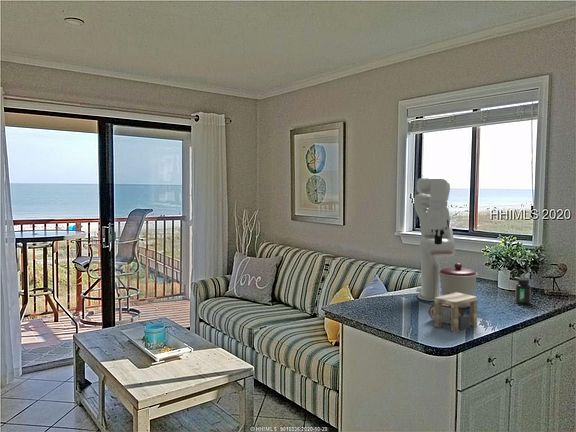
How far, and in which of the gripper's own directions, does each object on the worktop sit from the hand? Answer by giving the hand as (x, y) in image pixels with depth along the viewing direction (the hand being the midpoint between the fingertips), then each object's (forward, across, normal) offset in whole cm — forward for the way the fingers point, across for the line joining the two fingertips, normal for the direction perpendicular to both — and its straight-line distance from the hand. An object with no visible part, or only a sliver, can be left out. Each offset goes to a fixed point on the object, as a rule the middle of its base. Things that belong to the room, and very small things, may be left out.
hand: (438, 244), depth 209 cm
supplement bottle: (+32, +16, +46) cm, 58 cm away
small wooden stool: (+32, +18, -12) cm, 39 cm away
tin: (+32, +13, -12) cm, 37 cm away
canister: (+32, -1, +17) cm, 37 cm away
